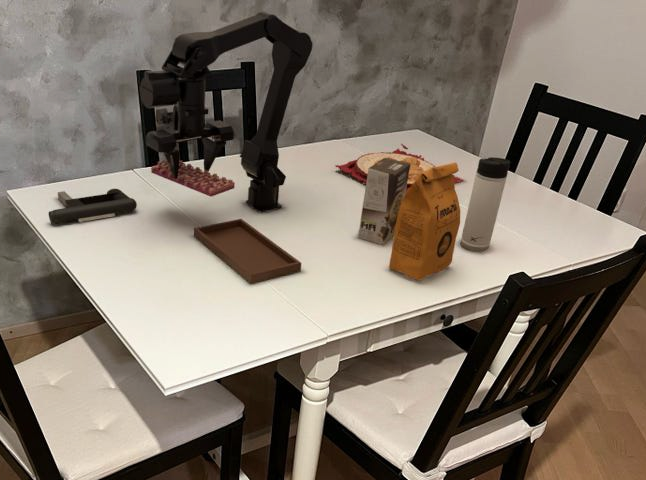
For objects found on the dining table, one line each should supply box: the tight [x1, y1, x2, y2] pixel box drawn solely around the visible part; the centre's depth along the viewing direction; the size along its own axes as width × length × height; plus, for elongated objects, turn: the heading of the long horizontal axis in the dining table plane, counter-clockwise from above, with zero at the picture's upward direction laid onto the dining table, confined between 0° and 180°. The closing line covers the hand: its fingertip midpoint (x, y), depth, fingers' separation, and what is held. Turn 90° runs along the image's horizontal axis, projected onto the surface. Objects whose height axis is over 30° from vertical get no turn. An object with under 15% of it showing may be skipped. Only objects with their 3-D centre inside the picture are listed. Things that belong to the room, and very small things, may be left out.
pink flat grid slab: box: [150, 159, 236, 198], centre depth 162 cm, size 7×19×2 cm, turn 49°
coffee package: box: [388, 162, 461, 281], centre depth 148 cm, size 10×12×22 cm
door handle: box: [48, 188, 138, 224], centre depth 170 cm, size 3×20×16 cm
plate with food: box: [334, 143, 464, 194], centre depth 198 cm, size 24×26×4 cm
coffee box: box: [357, 158, 411, 246], centre depth 163 cm, size 9×6×16 cm
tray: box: [193, 218, 302, 285], centre depth 156 cm, size 12×24×2 cm, turn 32°
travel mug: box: [459, 156, 511, 253], centre depth 159 cm, size 6×7×20 cm
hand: (191, 175), depth 162 cm, fingers closed on pink flat grid slab, 7 cm apart
